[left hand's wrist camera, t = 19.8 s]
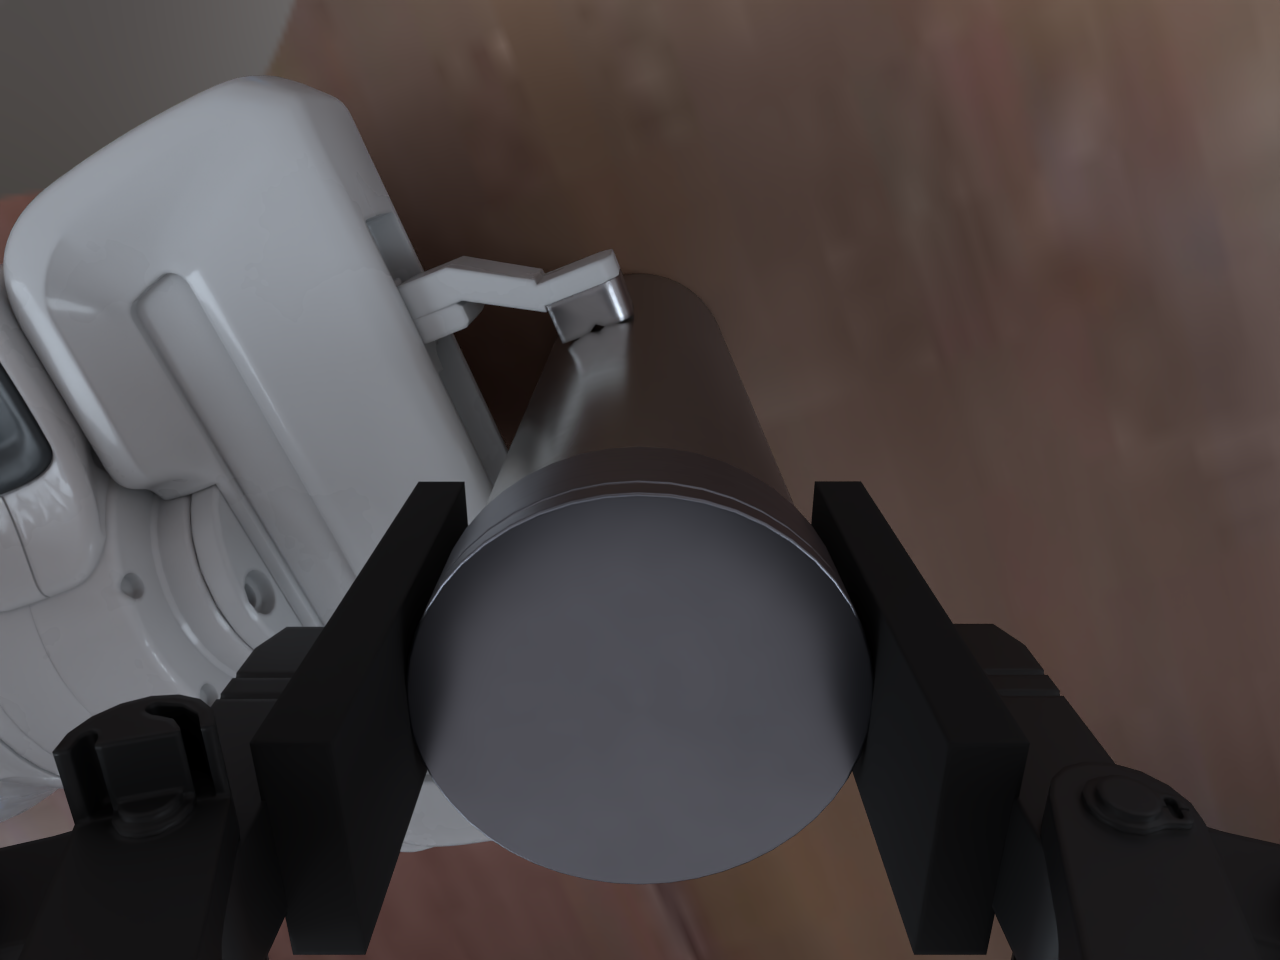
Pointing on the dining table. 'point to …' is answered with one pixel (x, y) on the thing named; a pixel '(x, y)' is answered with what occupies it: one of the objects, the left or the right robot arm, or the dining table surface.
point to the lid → (639, 669)
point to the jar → (643, 391)
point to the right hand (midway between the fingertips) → (673, 408)
